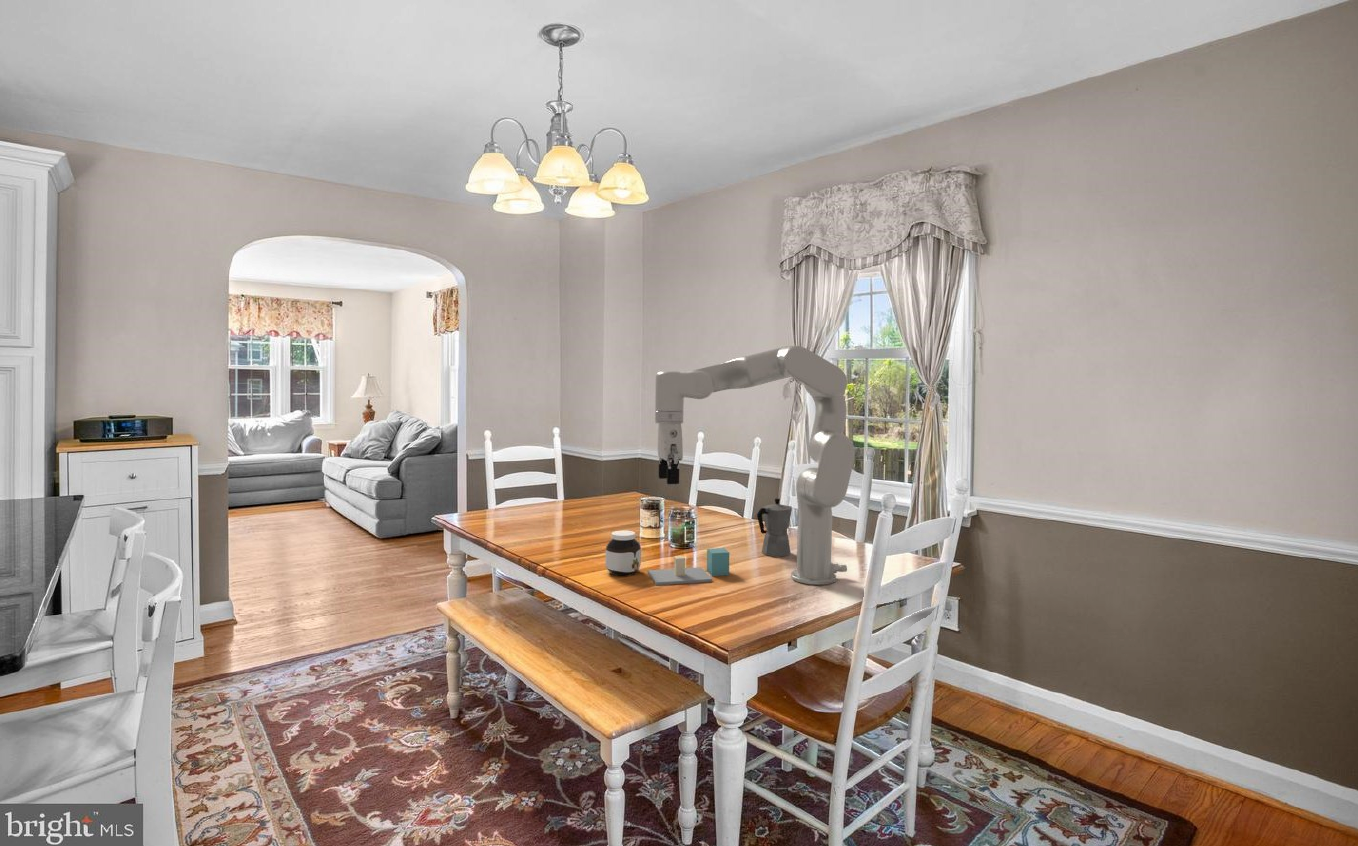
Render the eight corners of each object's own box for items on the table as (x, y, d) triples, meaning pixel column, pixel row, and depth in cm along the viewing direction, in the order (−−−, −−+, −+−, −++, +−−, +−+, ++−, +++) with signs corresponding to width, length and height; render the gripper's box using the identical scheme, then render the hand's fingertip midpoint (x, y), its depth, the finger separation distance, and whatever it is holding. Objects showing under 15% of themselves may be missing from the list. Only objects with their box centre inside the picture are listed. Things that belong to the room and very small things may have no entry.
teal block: (723, 569, 207) (724, 547, 207) (729, 574, 202) (729, 552, 202) (706, 570, 206) (707, 548, 206) (711, 575, 201) (712, 553, 201)
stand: (700, 569, 207) (701, 550, 207) (712, 581, 196) (712, 561, 195) (647, 572, 203) (647, 553, 203) (656, 585, 192) (656, 564, 191)
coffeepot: (779, 547, 235) (780, 494, 234) (800, 553, 228) (802, 498, 226) (746, 554, 225) (747, 499, 224) (767, 561, 218) (769, 503, 217)
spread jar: (619, 578, 197) (619, 538, 197) (593, 570, 205) (593, 531, 204) (649, 570, 206) (649, 531, 205) (623, 563, 214) (623, 525, 213)
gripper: (691, 419, 180) (690, 485, 182) (675, 415, 197) (674, 476, 198) (662, 419, 179) (662, 486, 180) (648, 415, 195) (648, 476, 196)
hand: (668, 481), depth 189 cm, fingers open, 9 cm apart
